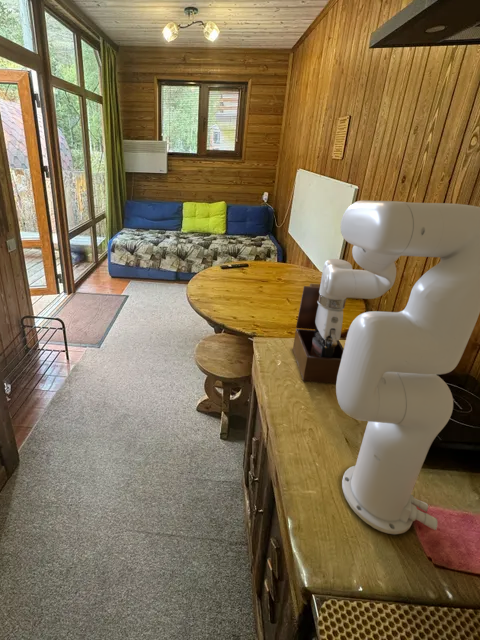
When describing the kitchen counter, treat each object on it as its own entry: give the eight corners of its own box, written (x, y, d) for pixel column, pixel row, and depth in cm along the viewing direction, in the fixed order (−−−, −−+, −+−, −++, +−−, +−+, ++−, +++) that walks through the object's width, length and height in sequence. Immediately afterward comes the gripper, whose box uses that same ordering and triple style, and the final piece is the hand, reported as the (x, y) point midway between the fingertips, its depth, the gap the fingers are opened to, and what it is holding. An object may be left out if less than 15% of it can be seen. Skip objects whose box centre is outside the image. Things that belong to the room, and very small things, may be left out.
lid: (345, 289, 97) (339, 281, 102) (304, 287, 99) (300, 278, 103) (334, 331, 104) (329, 321, 109) (296, 328, 106) (293, 318, 110)
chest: (345, 385, 93) (351, 361, 90) (302, 381, 94) (307, 357, 91) (329, 352, 108) (333, 331, 105) (292, 349, 109) (296, 328, 106)
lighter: (332, 370, 96) (338, 343, 93) (323, 373, 95) (329, 345, 92) (315, 355, 103) (319, 329, 100) (306, 357, 102) (311, 331, 99)
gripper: (356, 315, 83) (344, 369, 89) (334, 288, 99) (325, 335, 105) (327, 313, 84) (317, 367, 89) (310, 287, 100) (303, 333, 106)
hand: (322, 349), depth 97 cm, fingers closed on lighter, 7 cm apart
